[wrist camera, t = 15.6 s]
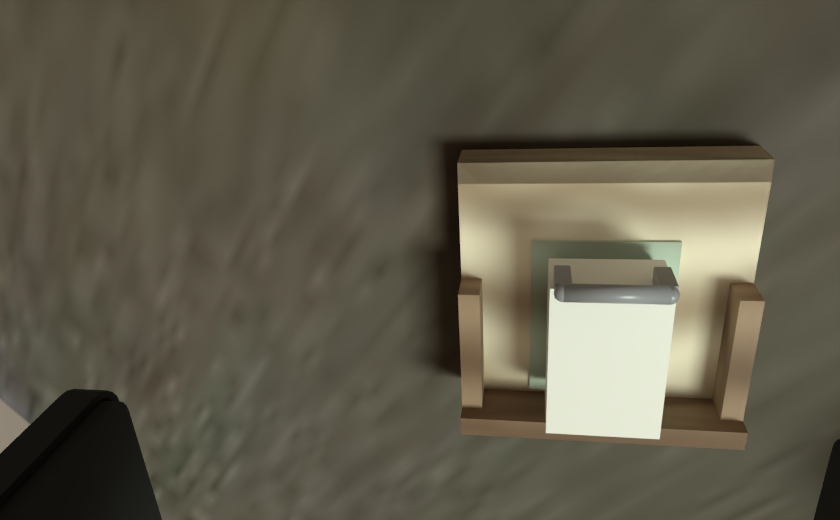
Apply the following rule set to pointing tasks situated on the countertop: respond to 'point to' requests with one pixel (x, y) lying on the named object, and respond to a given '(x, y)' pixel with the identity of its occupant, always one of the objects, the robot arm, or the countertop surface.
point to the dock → (611, 239)
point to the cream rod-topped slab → (608, 346)
